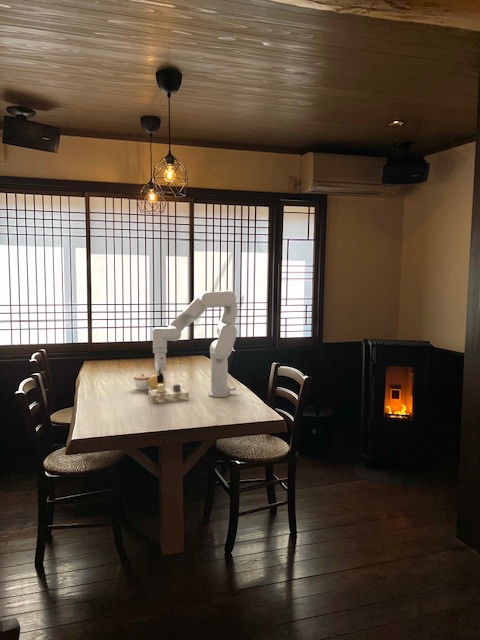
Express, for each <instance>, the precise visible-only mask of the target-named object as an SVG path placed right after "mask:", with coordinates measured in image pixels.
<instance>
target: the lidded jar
mask: <svg viewBox="0 0 480 640" xmlns="http://www.w3.org/2000/svg"><path fill="white" fill-rule="evenodd" d="M151 376H152V375H151V374H148V373H147V374H145V373H143V372H142V373H141V374H136V375H134V376H133V382H134V386H135V387H136V389H137V390H139V391H146V390H147V391H148V390H149V389H150V387H149V384H148V382H149V379H150V377H151Z"/></svg>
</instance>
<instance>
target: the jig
mask: <svg viewBox="0 0 480 640" xmlns="http://www.w3.org/2000/svg"><path fill="white" fill-rule="evenodd" d="M189 393H190V392H189V391H188V390H187V389H186V388H185V387H184V386H181V384H179V383H178V384H173V385H172V387H168V388H165V393H158V394H157V389H155V390H152V389H147V394H148V399H149V400H150V402H151V404H156V403H157V404H158V403H159V404H160V403H167V402H177V401H178V402H179V401H187V400H189V397H190V395H189Z"/></svg>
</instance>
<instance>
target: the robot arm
mask: <svg viewBox="0 0 480 640" xmlns="http://www.w3.org/2000/svg"><path fill="white" fill-rule="evenodd" d="M208 308H222V312H221V316H220V319H219V322H218V325H217V327H216V333H217V336H218V338H217V339H216V340H215V339H214V341H212V342H211V344H210V347H209V354H210V385H211V386H210V391H209V392H208V396H210V397H212V398H225V397H229V396H231V391H232V392H233V391H234V392H235V391H236V390H237V389H236V388H237V387H236V386H228V384H229V383H228V382H229V380H228V379H229V377H228V376H229V375H228V369H229V368H228V367H229V365H228V358H229V357H230V356H231V354H232V351H233V349H234V346H235V342H236V338H237V334H238V330H237V328H236V326H235V325H236V322H237V321H236V320H237V316H238V310H239V309H238V303H237V296H236V294H235V292H234V291H232V290H228V289H222V290H220V291H202V292H200V293H199V294H198V295H197V296H196V297H195V299H193V301H192V302H190V304H189V305H188V306H187V307H186V308H185V309H184V310H183V311H182V312H180V314H179V315H178V316H177V317H176V318H175V319H174V320H172V321H171V323H170V324H169V325H168V326H167V327H164V326H156V327H153V328H152V354H154V368H155V370H156V374H157V382H158V383H163V377H164V372H165V371H167V353H168V349H167V348H168V347H167V346H168V341H171V342H176V341H179V340H180V339H181V337H182V331H183V330H184V329H185V328H186V327H188V326H189V325H190V324H192V323H194V322H196V321H197V320H198V319H199V318H200V317H201V315H202V314H203V313H204V312H206V310H208Z"/></svg>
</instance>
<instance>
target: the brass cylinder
mask: <svg viewBox="0 0 480 640" xmlns="http://www.w3.org/2000/svg"><path fill="white" fill-rule="evenodd" d="M165 386H166V384H165V385H164V384H158V385H157V394H158V393H165V389H166V388H165Z"/></svg>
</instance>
